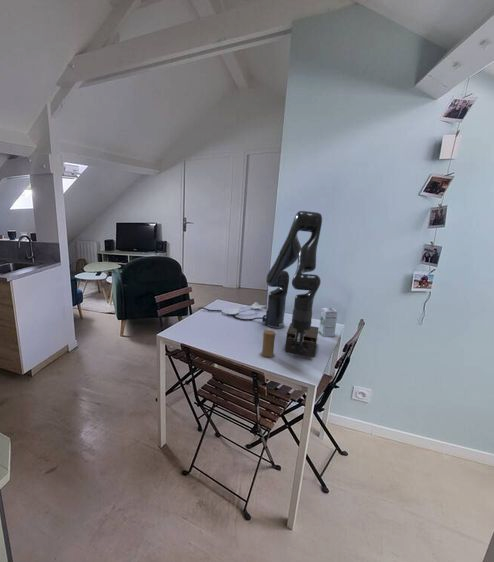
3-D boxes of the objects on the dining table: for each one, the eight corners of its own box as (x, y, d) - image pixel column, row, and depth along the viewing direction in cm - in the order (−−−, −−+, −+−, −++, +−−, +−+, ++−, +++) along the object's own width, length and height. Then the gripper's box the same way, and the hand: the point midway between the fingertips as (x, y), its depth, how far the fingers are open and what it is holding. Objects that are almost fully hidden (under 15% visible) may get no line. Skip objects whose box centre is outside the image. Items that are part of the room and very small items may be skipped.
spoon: (266, 309, 211) (266, 304, 210) (227, 317, 201) (227, 312, 200) (256, 305, 219) (256, 301, 218) (218, 313, 209) (218, 308, 208)
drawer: (311, 362, 143) (313, 346, 141) (284, 356, 149) (285, 341, 147) (314, 346, 157) (316, 332, 155) (289, 341, 163) (290, 327, 161)
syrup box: (334, 336, 168) (338, 311, 165) (322, 336, 170) (326, 311, 166) (330, 332, 174) (333, 307, 170) (318, 331, 175) (321, 307, 171)
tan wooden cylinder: (260, 355, 152) (262, 333, 149) (262, 351, 156) (264, 329, 153) (272, 358, 149) (274, 335, 146) (273, 353, 153) (276, 331, 150)
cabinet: (314, 356, 149) (316, 338, 146) (284, 350, 156) (286, 332, 153) (316, 344, 160) (318, 327, 158) (288, 339, 167) (290, 322, 165)
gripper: (294, 311, 147) (290, 345, 151) (290, 321, 136) (286, 356, 141) (312, 314, 142) (308, 348, 147) (310, 324, 132) (305, 360, 137)
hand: (297, 352), depth 144 cm, fingers closed
